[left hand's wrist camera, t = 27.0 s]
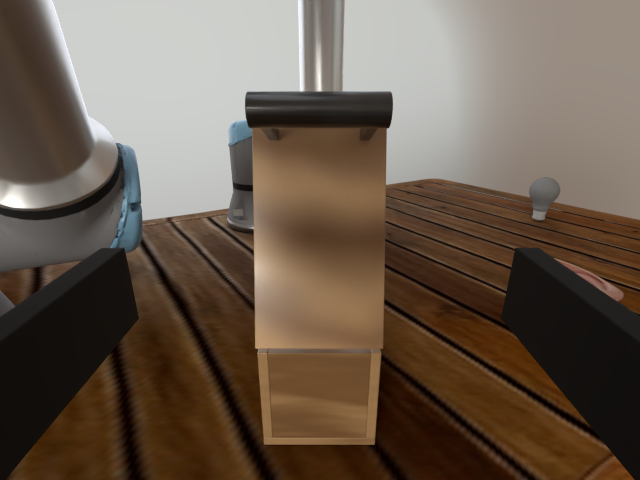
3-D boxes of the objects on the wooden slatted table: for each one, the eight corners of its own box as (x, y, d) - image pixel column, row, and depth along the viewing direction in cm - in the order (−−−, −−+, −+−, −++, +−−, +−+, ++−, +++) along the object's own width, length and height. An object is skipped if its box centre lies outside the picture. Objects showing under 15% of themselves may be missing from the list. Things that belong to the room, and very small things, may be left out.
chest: (283, 325, 46) (280, 258, 43) (356, 325, 46) (358, 258, 43) (263, 445, 30) (257, 353, 27) (374, 445, 30) (381, 353, 27)
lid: (254, 98, 26) (223, 46, 18) (384, 98, 26) (414, 46, 18) (257, 342, 27) (230, 400, 19) (380, 342, 27) (407, 400, 19)
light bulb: (528, 223, 84) (537, 179, 81) (520, 215, 90) (528, 174, 86) (556, 224, 83) (567, 180, 79) (547, 217, 88) (556, 175, 85)
